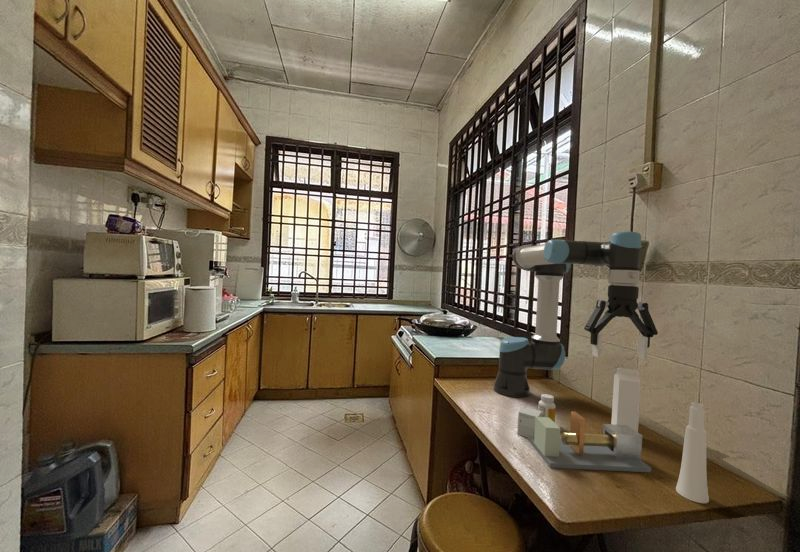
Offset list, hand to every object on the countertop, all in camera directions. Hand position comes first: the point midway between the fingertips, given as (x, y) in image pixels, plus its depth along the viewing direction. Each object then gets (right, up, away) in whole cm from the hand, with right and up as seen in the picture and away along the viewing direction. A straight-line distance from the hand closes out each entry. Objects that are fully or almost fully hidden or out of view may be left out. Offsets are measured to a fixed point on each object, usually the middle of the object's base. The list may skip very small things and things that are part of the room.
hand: (619, 357), depth 99 cm
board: (-11, -27, -3) cm, 30 cm away
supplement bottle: (-14, -27, +17) cm, 35 cm away
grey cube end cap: (-1, -27, -3) cm, 27 cm away
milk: (+9, -29, +12) cm, 32 cm away
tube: (-8, -26, -3) cm, 27 cm away
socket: (-23, -26, -3) cm, 34 cm away
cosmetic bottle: (+5, -29, -19) cm, 35 cm away
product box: (-23, -27, +9) cm, 37 cm away
